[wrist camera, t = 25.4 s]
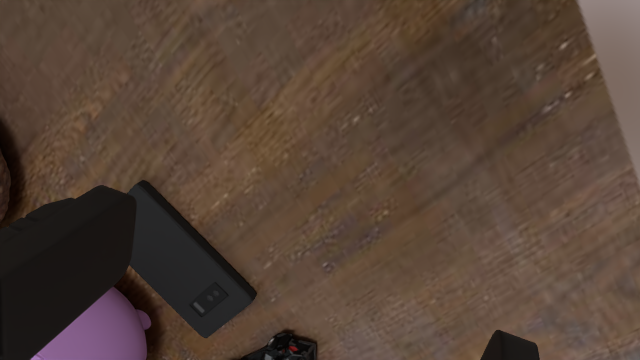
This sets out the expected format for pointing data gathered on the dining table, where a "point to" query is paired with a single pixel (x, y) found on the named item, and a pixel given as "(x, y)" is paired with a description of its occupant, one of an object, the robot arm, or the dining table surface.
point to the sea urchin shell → (4, 186)
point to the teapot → (102, 333)
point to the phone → (184, 265)
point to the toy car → (285, 349)
